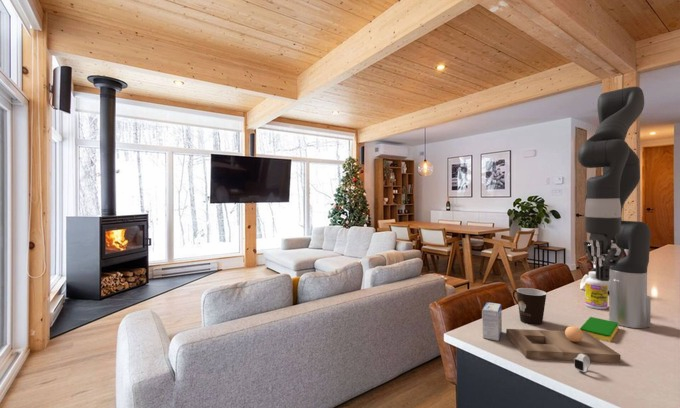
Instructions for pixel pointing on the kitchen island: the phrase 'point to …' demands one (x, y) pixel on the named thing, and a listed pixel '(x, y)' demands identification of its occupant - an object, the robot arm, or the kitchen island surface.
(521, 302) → the coffee mug
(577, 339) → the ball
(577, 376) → the kitchen island surface
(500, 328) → the medicine box
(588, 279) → the supplement bottle
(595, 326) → the dish sponge
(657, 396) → the kitchen island surface
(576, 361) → the smartwatch
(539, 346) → the walnut board
